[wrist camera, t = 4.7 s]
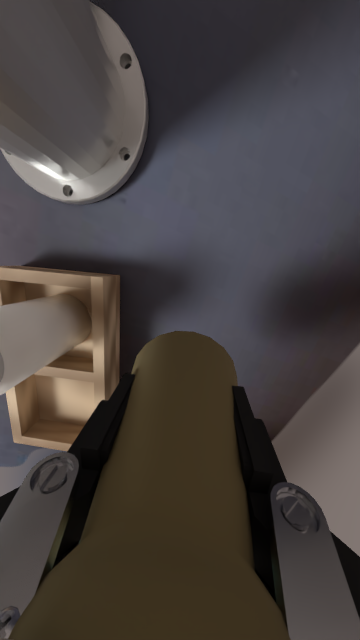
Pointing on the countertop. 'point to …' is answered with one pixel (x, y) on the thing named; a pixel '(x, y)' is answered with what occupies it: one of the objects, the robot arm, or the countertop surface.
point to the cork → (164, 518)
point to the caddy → (65, 357)
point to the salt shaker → (39, 335)
